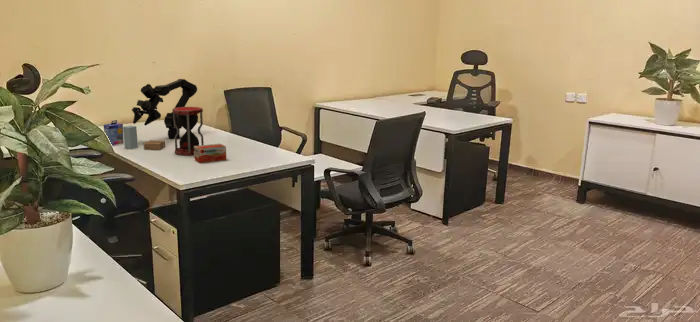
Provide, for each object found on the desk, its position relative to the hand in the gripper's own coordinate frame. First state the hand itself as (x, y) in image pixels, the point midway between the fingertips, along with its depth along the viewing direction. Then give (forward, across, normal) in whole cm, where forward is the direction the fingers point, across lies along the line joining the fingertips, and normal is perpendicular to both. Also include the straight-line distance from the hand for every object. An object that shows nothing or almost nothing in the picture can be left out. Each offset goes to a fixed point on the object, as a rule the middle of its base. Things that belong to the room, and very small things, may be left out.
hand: (139, 124), depth 321 cm
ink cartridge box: (+13, -16, +5) cm, 21 cm away
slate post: (+14, 0, +4) cm, 15 cm away
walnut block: (+10, +12, +9) cm, 18 cm away
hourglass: (+8, +36, +11) cm, 38 cm away
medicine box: (+13, +57, +6) cm, 59 cm away
